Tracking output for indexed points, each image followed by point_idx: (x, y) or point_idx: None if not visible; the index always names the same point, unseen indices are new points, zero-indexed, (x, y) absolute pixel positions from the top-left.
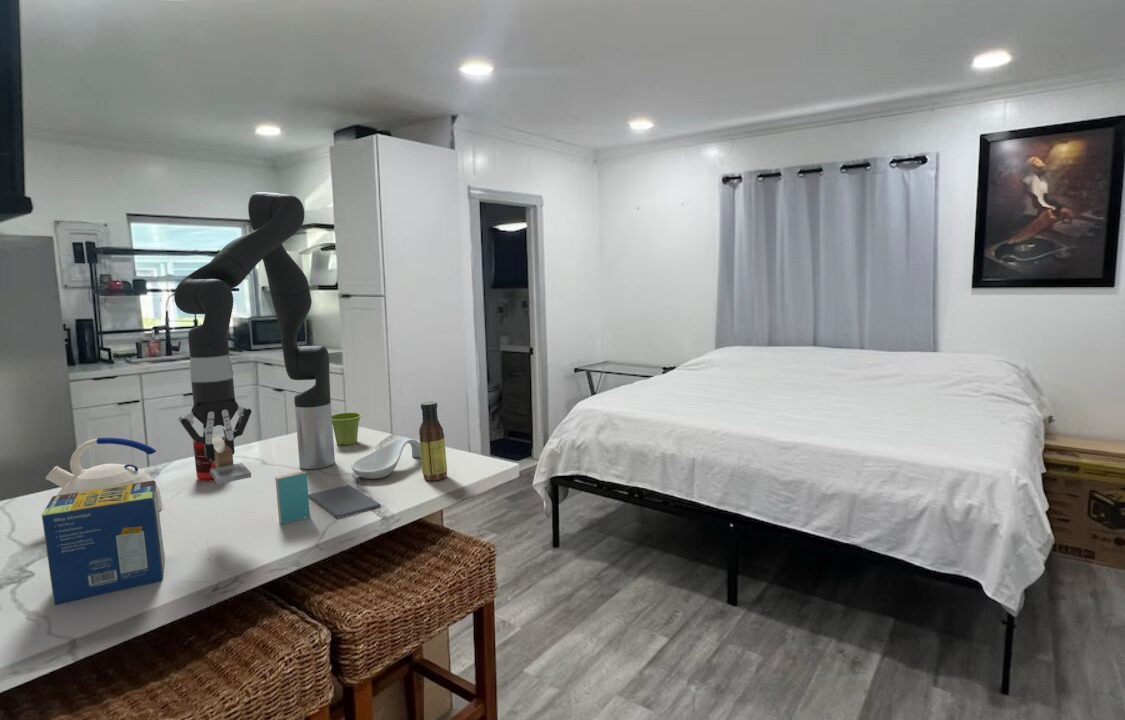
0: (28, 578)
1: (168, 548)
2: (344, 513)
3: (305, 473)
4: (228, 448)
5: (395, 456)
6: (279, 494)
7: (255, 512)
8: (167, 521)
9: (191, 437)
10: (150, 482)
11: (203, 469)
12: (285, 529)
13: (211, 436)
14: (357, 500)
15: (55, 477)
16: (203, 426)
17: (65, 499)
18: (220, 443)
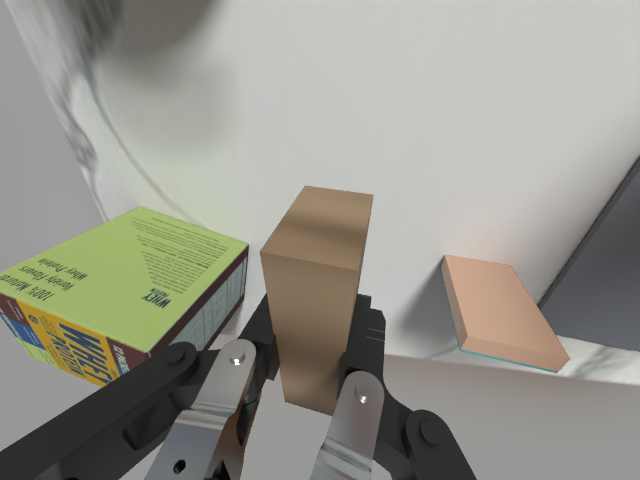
0: (93, 162)
1: (256, 211)
2: None
3: (552, 370)
4: (330, 402)
5: None
6: (453, 314)
7: (451, 154)
8: (267, 27)
9: (149, 364)
10: (140, 359)
11: None
12: (428, 291)
13: (248, 426)
14: None
15: None
16: (169, 455)
17: (18, 323)
18: (318, 357)
